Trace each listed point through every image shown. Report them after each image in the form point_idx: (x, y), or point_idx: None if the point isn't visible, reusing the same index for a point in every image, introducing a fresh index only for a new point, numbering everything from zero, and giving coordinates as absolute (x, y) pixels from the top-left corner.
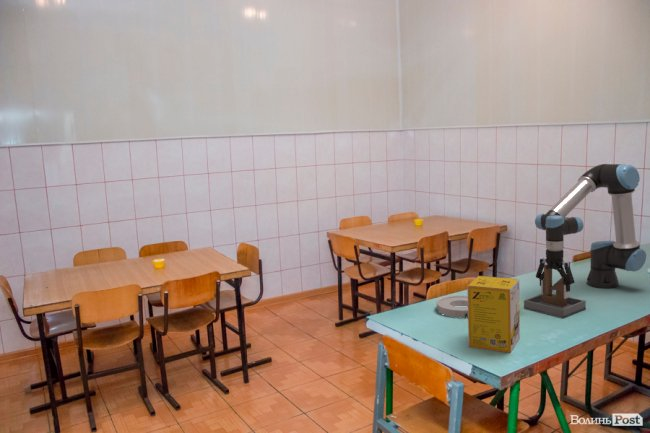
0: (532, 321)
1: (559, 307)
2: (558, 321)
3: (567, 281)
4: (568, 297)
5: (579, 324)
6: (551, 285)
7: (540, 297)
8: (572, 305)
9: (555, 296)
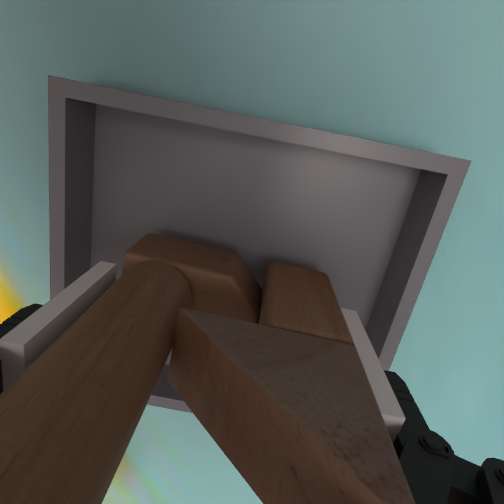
0: (227, 496)
1: None
2: None
3: (406, 466)
4: (355, 312)
5: (448, 441)
6: (164, 363)
7: (76, 203)
8: (392, 340)
9: (233, 307)
